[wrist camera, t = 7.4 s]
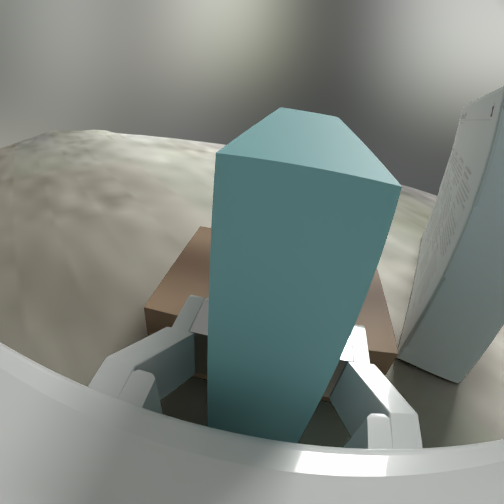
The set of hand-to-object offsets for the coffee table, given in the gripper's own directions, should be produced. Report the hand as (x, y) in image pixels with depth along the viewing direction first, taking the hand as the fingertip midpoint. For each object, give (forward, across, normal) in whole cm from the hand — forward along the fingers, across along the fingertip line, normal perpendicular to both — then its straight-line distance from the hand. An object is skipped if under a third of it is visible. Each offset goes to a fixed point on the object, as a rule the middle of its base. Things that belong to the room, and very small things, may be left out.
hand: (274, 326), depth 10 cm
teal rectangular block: (+2, 0, +6) cm, 6 cm away
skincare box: (+14, -14, +6) cm, 21 cm away
